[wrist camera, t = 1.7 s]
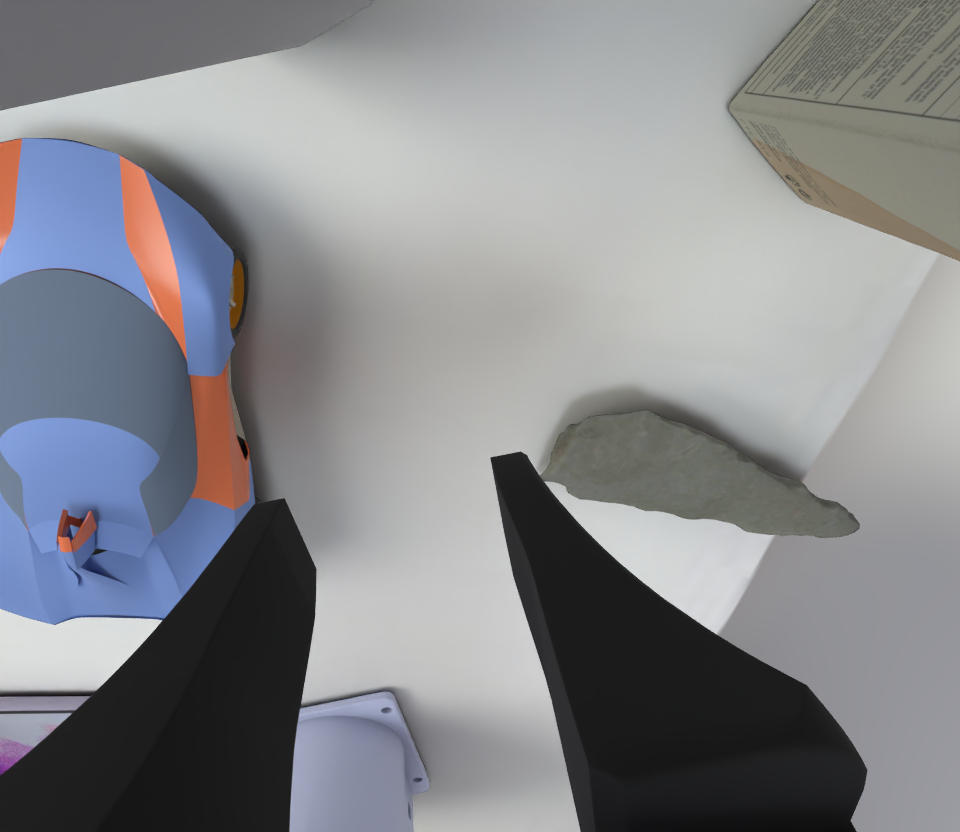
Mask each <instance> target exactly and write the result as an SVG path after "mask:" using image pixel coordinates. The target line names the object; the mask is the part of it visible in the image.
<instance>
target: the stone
mask: <svg viewBox="0 0 960 832" xmlns="http://www.w3.org/2000/svg"><path fill="white" fill-rule="evenodd" d="M540 477H541V478H542V480H543V481H550V482H556V483H560V484H562V485H564V486H566V489H567V492H568V493H569V494H571V495H573V496H574V497H577V498H579V499H586V500H595V501H601V502H608V503H619V504H625V505H630V506H635V507H637V508H639V509H642V510H645V511H660V512H666V513H670V514H674V515H676V516H678V517H681V518H685V519H714V520H719V521H723V522H728V523H732V524H735V525H737V526H738V527H740V528H741V529H743V530H744V531H746V532H752V533H759V534H767V535H780V536H786V535H799V536H804V535H810V536H815V537H819V538H828V537H842V536H846V535H849V534H852V533H854V532H855V531H857V530H858V529H859V527H860V524H859V522H858V521H857V520H856V518H855V517H854V515H853V514H852V513H850V512H848V510H847V509H846V508H844V507H843V506H841V505H840V504H839V503H837V502H833V501H829V500H824V499H820V498H818V497H816V496H815V495H814V494H812V493H811V492H810V491H808V489H807V487H806V486H805V485H804V484H803V483H802V482H800V481H798V480H791V479H788V478H784V477H781V476H779V475H776V474H773V473H771V472H768V471H766V470H765V469H763V468H762V467H760V466H759V465H758V464H756V463H755V462H754V461H753V460H752V459H751V458H749V457H747V456H745V455H742V454H740V453H737V452H736V450H735V449H734V448H733V447H732V446H730V445H729V444H727V443H726V442H724V441H721V440H718V439H716V438H714V437H712V436H711V435H709V434H706V433H703V432H702V431H699V430H696V429H693V428H691V427H689V426H688V425H685V424H683V423H680V422H675V421H670V420H668V419H666V418H663V417H659V416H658V415H657V414H656V413H653V412H651V411H648V410H642V411H637V412H630V413H622V414H609V415H598V416H592V417H588V418H587V419H585V420H584V421H582V422H580V423H578V424H571V425H569V426H568V427H567V428H566V430H565V431H564V432H563V433H561V434H560V435H559V436H558V438H557V441H556V444H555V446H554V448H553V450H552V453H551V459H550V463H549V466H548V467H547V469H546V470H545V471H544V472H543V473H542V474H541V475H540Z"/></svg>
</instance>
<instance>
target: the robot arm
mask: <svg viewBox="0 0 960 832" xmlns="http://www.w3.org/2000/svg"><path fill="white" fill-rule="evenodd" d="M491 463H492V468H493V474H494V479H495V484H496V490H497V495H498V501H499V506H500V512H501V517H502V523H503V528H504V533H505V538H506V543H507V548H508V552H509V557H510V562H511V567H512V572H513V576H514V580H515V583H516V586H517V589H518V592H519V596H520V599H521V602H522V605H523V608H524V611H525V615H526V618H527V621H528V624H529V627H530V630H531V633H532V637H533V640H534V643H535V646H536V649H537V652H538V655H539V659H540V662H541V665H542V668H543V671H544V674H545V677H546V681H547V685H548V688H549V692H550V696H551V699H552V704H553V708H554V713H555V717H556V722H557V726H558V731H559V735H560V740H561V744H562V748H563V753H564V757H565V762H566V767H567V771H568V776H569V780H570V785H571V789H572V794H573V798H574V803H575V807H576V812H577V816H578V821H579V826H580V830H581V832H856V830H855V828H854V826H853V825H852V823H851V821H850V820H851V818H852V816H853V813H854V811H855V809H856V806H857V804H858V801H859V799H860V797H861V795H862V792H863V790H864V786H865V781H866V775H867V769H866V767H865V764H864V762H863V760H862V759H861V757H860V755H859V753H858V752H857V750H856V748H855V747H854V745H853V744H852V742H851V741H850V740H849V738H848V736H847V735H846V734H845V732H844V731H843V729H842V728H841V727H840V725H839V724H838V723H837V722H836V720H835V719H834V718H833V716H832V715H831V714H830V713H829V711H828V710H827V709H826V708H825V707H824V705H823V704H822V703H821V702H820V701H819V699H818V698H817V697H816V696H815V695H814V693H813V692H812V691H811V690H810V689H809V687H808V686H807V685H805V684H803V683H801V682H799V681H797V680H796V679H794V678H792V677H790V676H788V675H786V674H784V673H782V672H781V671H779V670H777V669H775V668H773V667H771V666H769V665H767V664H766V663H764V662H762V661H760V660H758V659H757V658H755V657H753V656H751V655H749V654H748V653H746V652H744V651H743V650H741V649H739V648H737V647H736V646H734V645H732V644H731V643H729V642H728V641H726V640H724V639H723V638H721V637H720V636H718V635H716V634H715V633H713V632H711V631H710V630H708V629H707V628H706V627H704V626H703V625H701V624H700V623H698V622H697V621H695V620H694V619H692V618H691V617H690V616H688V615H687V614H685V613H684V612H682V611H681V610H679V609H678V608H676V607H675V606H674V605H672V604H671V603H669V602H668V601H666V600H665V599H664V598H662V597H661V596H660V595H658V594H657V593H656V592H654V591H653V590H652V589H651V588H649V587H648V586H647V585H645V584H644V583H643V582H642V581H640V580H639V579H638V578H637V577H636V576H634V575H633V574H632V573H631V572H630V571H628V570H627V569H626V568H625V567H624V566H623V565H621V564H620V563H619V562H618V561H617V560H616V559H615V558H614V557H612V556H611V555H610V554H609V553H608V552H607V551H606V550H605V549H604V548H603V547H602V546H601V545H600V544H599V543H598V542H597V541H596V540H595V539H594V538H593V537H592V536H591V535H590V534H589V533H588V532H587V531H586V530H585V529H584V528H583V527H582V526H581V525H580V524H579V523H578V522H577V521H576V520H575V519H574V517H573V516H572V515H571V514H570V513H569V512H568V511H567V509H566V508H565V507H564V506H563V505H562V504H561V503H560V502H559V500H558V499H557V498H556V497H555V495H554V494H553V493H552V492H551V490H550V489H549V488H548V486H547V485H546V484H545V483H544V481H543V480H542V478H541V477H540V476H539V474H538V473H537V471H536V470H535V468H534V467H533V465H532V463H531V462H530V460H529V458H528V456H527V455H526V454H524V453H522V452H516V453H511V454H506V455H501V456H496V457H491ZM315 605H316V567H315V565H314V563H313V561H312V558H311V556H310V554H309V552H308V549H307V547H306V545H305V543H304V541H303V538H302V536H301V534H300V532H299V529H298V527H297V525H296V523H295V521H294V518H293V516H292V514H291V512H290V510H289V507H288V505H287V503H286V501H285V498H283V499H278V500H273V501H268V502H263V503H258V504H254V505H253V506H252V507H251V509H250V510H249V511H248V512H247V514H246V515H245V516H244V518H243V519H242V520H241V522H240V523H239V524H238V526H237V527H236V528H235V530H234V531H233V532H232V534H231V535H230V536H229V538H228V539H227V540H226V542H225V543H224V544H223V546H222V547H221V548H220V550H219V551H218V552H217V554H216V555H215V556H214V558H213V559H212V560H211V562H210V563H209V564H208V565H207V567H206V568H205V569H204V571H203V572H202V573H201V575H200V576H199V577H198V578H197V580H196V581H195V582H194V584H193V585H192V586H191V587H190V589H189V590H188V591H187V592H186V593H185V595H184V596H183V597H182V598H181V599H180V601H179V602H178V603H177V604H176V605H175V606H174V608H173V609H172V610H171V611H170V612H169V614H168V615H167V616H166V617H165V618H164V620H163V621H162V622H161V623H160V624H159V626H158V627H157V628H156V629H155V630H154V631H153V633H152V634H151V635H150V636H149V637H148V638H147V639H146V640H145V642H144V643H143V644H142V645H141V646H140V647H139V648H138V649H137V650H136V651H135V652H134V653H133V654H132V656H131V657H130V658H129V659H128V660H127V661H126V662H125V663H124V664H123V665H122V666H121V667H120V668H119V669H118V670H117V671H116V672H115V673H114V674H113V675H112V676H111V677H110V678H109V679H108V680H107V681H106V682H105V683H104V684H103V685H102V686H101V687H100V688H99V689H98V690H97V691H96V692H95V693H94V694H93V695H92V696H90V697H89V698H88V699H87V700H86V701H85V702H84V703H83V704H82V705H81V706H80V707H78V708H77V709H76V710H75V711H74V712H73V713H72V714H71V715H70V716H69V717H67V718H66V719H65V720H64V721H63V722H62V723H61V724H60V725H59V726H58V727H57V728H55V729H54V730H53V731H52V732H51V733H50V734H49V735H48V736H47V737H46V738H44V739H43V740H42V741H41V742H40V743H39V744H38V745H36V746H35V747H34V748H33V749H32V750H30V751H29V752H28V753H27V754H26V755H24V756H23V757H22V758H21V759H20V760H19V761H17V762H16V763H15V764H14V765H13V766H11V767H10V768H9V769H8V770H7V771H5V772H4V773H3V774H2V775H0V832H414V829H413V794H417V793H422V792H425V791H427V790H428V789H429V788H430V780H429V778H428V775H427V773H426V771H425V768H424V766H423V763H422V761H421V759H420V756H419V754H418V751H417V749H416V747H415V744H414V742H413V739H412V737H411V735H410V732H409V730H408V727H407V725H406V723H405V720H404V718H403V715H402V713H401V711H400V708H399V706H398V703H397V701H396V699H395V696H394V695H393V694H392V693H390V692H379V693H374V694H369V695H364V696H359V697H354V698H349V699H344V700H339V701H334V702H329V703H324V704H320V705H315V706H310V707H305V708H300V706H301V700H302V694H303V688H304V682H305V676H306V670H307V664H308V658H309V652H310V646H311V640H312V633H313V627H314V620H315Z"/></svg>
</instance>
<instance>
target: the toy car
mask: <svg viewBox="0 0 960 832" xmlns="http://www.w3.org/2000/svg"><path fill="white" fill-rule="evenodd" d="M247 298H248V267H247V261H246V258H245V255H244V253H243V252H242V251H241V250H240V249H238V248H235V247H230V246H228V245H227V244H226V243H225V242H224V241H223V240H222V239H221V237H220V236H219V235H218V234H217V233H216V232H215V230H214V229H213V228H212V227H211V226H210V224H209V223H208V222H207V221H206V219H205V218H204V217H203V216H202V215H201V214H200V213H199V212H197V211H196V210H195V209H194V208H193V207H192V206H191V205H189V204H188V203H187V202H186V201H184V200H183V199H182V198H181V197H179V196H178V195H177V194H175V193H174V192H173V191H171V190H170V189H169V188H167V187H166V186H165V185H163V184H162V183H161V182H159V181H158V180H157V179H155V178H154V177H153V176H152V174H151V173H150V172H148V171H147V170H145V169H144V168H142V167H140V166H139V165H137V164H135V163H134V162H132V161H130V160H129V159H127V158H125V157H123V156H121V155H119V154H116V153H113V152H111V151H108V150H105V149H102V148H98V147H95V146H92V145H89V144H85V143H82V142H78V141H73V140H66V139H53V138H22V139H15V140H10V141H6V142H1V143H0V609H3V610H5V611H8V612H11V613H14V614H17V615H20V616H23V617H27V618H30V619H34V620H37V621H41V622H45V623H49V624H53V625H56V624H58V623H61V622H64V621H67V620H70V619H74V618H80V617H112V618H145V619H159V620H164V618H165V617H166V616H167V615H168V614H169V612H170V611H171V610H172V609H173V608H174V606H175V605H176V604H177V603H178V602H179V601H180V599H181V598H182V597H183V596H184V595H185V593H186V592H187V591H188V590H189V589H190V587H191V586H192V585H193V584H194V582H195V581H196V580H197V578H198V577H199V576H200V575H201V573H202V572H203V571H204V569H205V568H206V567H207V565H208V564H209V563H210V562H211V560H212V559H213V558H214V556H215V555H216V554H217V552H218V551H219V550H220V548H221V547H222V546H223V544H224V543H225V542H226V540H227V539H228V538H229V536H230V535H231V534H232V532H233V531H234V530H235V528H236V527H237V526H238V524H239V523H240V522H241V520H242V519H243V518H244V516H245V515H246V514H247V512H248V511H249V510H250V509H251V507H252V506H253V505H254V504H258V503H263V502H262V501H261V500H259V499H256V498H255V495H254V485H253V476H252V468H251V462H250V459H249V458H250V451H249V447H248V445H247V442H246V439H245V435H244V432H243V428H242V424H241V421H240V417H239V414H238V410H237V407H236V403H235V400H234V396H233V393H232V387H231V357H230V354H231V351H232V349H233V347H234V346H235V344H236V343H235V341H234V339H233V338H235V337H236V336H237V335H238V334H239V332H240V330H241V327H242V324H243V321H244V317H245V312H246V306H247Z"/></svg>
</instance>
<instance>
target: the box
mask: <svg viewBox="0 0 960 832" xmlns="http://www.w3.org/2000/svg"><path fill="white" fill-rule="evenodd" d="M729 110H730V112H731V114H732V115H733V116H734V118H735V119H736V120H737V122H738V123H739V124H740V126H741V127H742V129H743V130H744V131H745V133H746V134H747V135H748V136H749V138H750V139H751V140H752V142H753V143H754V144H755V145H756V147H757V148H758V149H759V150H760V152H761V153H762V154H763V155H764V157H765V158H766V159H767V160H768V162H769V163H770V164H771V165H772V167H773V168H774V169H775V170H776V171H777V172H778V174H779V175H780V176H781V177H782V178H783V179H784V180H785V181H786V183H787V184H788V185H789V186H790V187H791V188H792V189H793V190H794V192H795V193H796V194H797V195H798V196H799V197H800V198H801V199H802V200H803V201H804V202H805V203H807V204H810V205H813V206H815V207H818V208H821V209H823V210H826V211H829V212H831V213H834V214H837V215H839V216H842V217H844V218H847V219H850V220H852V221H855V222H858V223H860V224H863V225H866V226H868V227H871V228H874V229H876V230H879V231H881V232H884V233H887V234H890V235H893V236H896V237H898V238H901V239H903V240H906V241H909V242H911V243H914V244H916V245H919V246H922V247H925V248H927V249H930V250H933V251H935V252H938V253H941V254H943V255H946V256H948V257H951V258H954V259H956V260H958V261H960V0H819V1H818V2H817V3H816V5H815V6H814V7H813V8H812V9H811V10H810V12H809V13H808V14H807V15H806V16H805V17H804V19H803V20H802V21H801V22H800V23H799V24H798V25H797V27H796V28H795V29H794V30H793V31H792V32H791V33H790V34H789V36H788V37H787V38H786V39H785V40H784V41H783V42H782V43H781V44H780V46H779V47H778V48H777V49H776V50H775V51H774V52H773V53H772V55H771V56H770V57H769V58H768V59H767V60H766V61H765V63H764V64H763V65H762V66H761V67H760V69H759V70H758V71H757V72H756V73H755V74H754V76H753V77H752V78H751V79H750V80H749V82H748V83H747V84H746V85H745V86H744V87H743V89H742V90H741V91H740V92H739V93H738V94H737V95H736V97H735V98H734V99H733V100H732V101H731V103H730V104H729Z"/></svg>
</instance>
